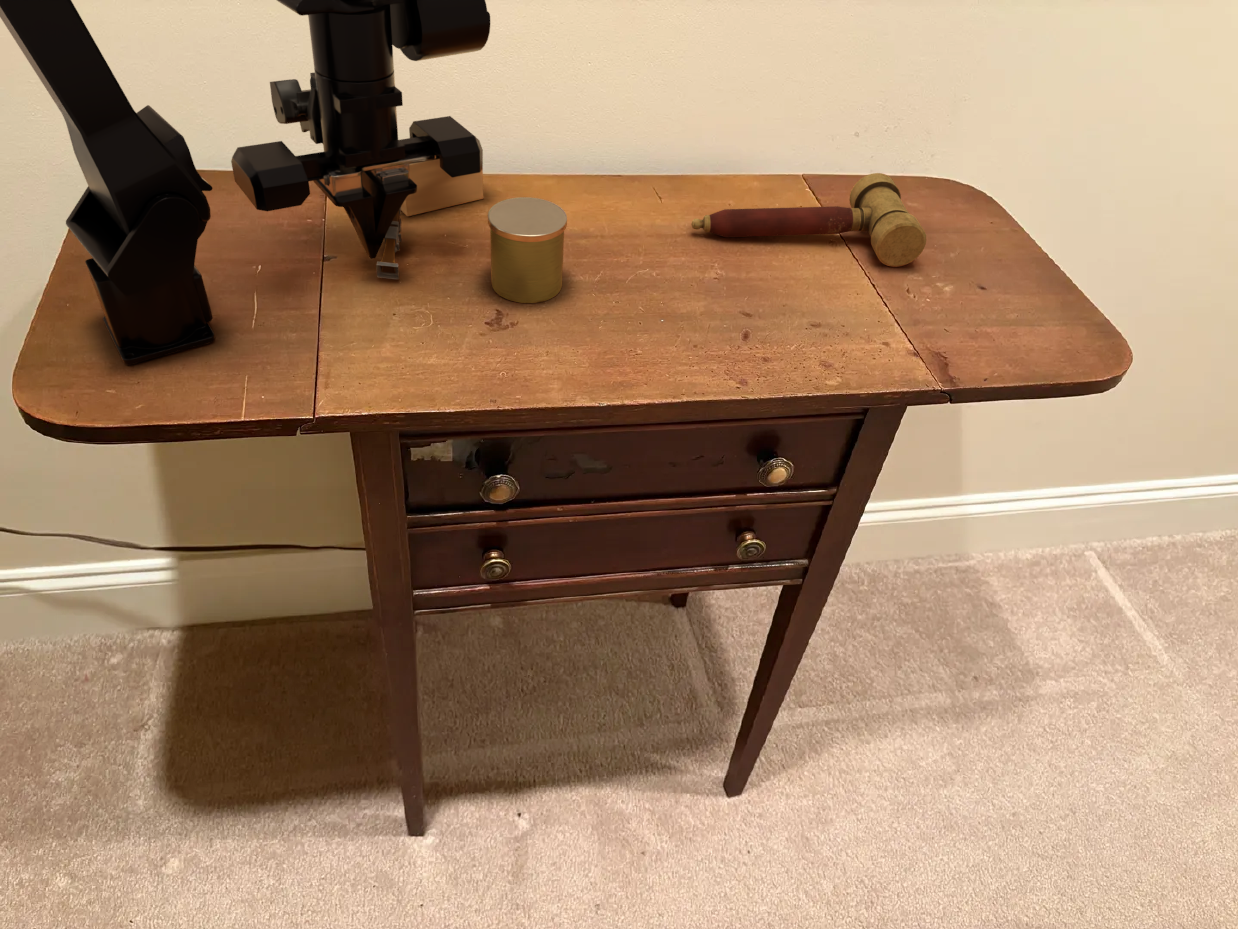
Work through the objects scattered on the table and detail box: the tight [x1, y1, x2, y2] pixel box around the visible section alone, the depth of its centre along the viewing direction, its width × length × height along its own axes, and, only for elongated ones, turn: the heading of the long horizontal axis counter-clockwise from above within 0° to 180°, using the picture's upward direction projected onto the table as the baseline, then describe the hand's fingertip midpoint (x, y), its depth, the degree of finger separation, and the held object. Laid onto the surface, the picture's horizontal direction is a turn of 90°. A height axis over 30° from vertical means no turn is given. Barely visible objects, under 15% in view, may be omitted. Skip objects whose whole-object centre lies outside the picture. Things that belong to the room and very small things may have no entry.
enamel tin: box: [487, 196, 568, 304], centre depth 76 cm, size 6×6×6 cm
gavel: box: [690, 172, 927, 268], centre depth 87 cm, size 21×5×10 cm
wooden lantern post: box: [375, 207, 402, 281], centre depth 79 cm, size 2×8×4 cm, turn 2°
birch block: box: [401, 159, 484, 217], centre depth 87 cm, size 8×4×5 cm, turn 125°
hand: (371, 256), depth 78 cm, fingers closed
